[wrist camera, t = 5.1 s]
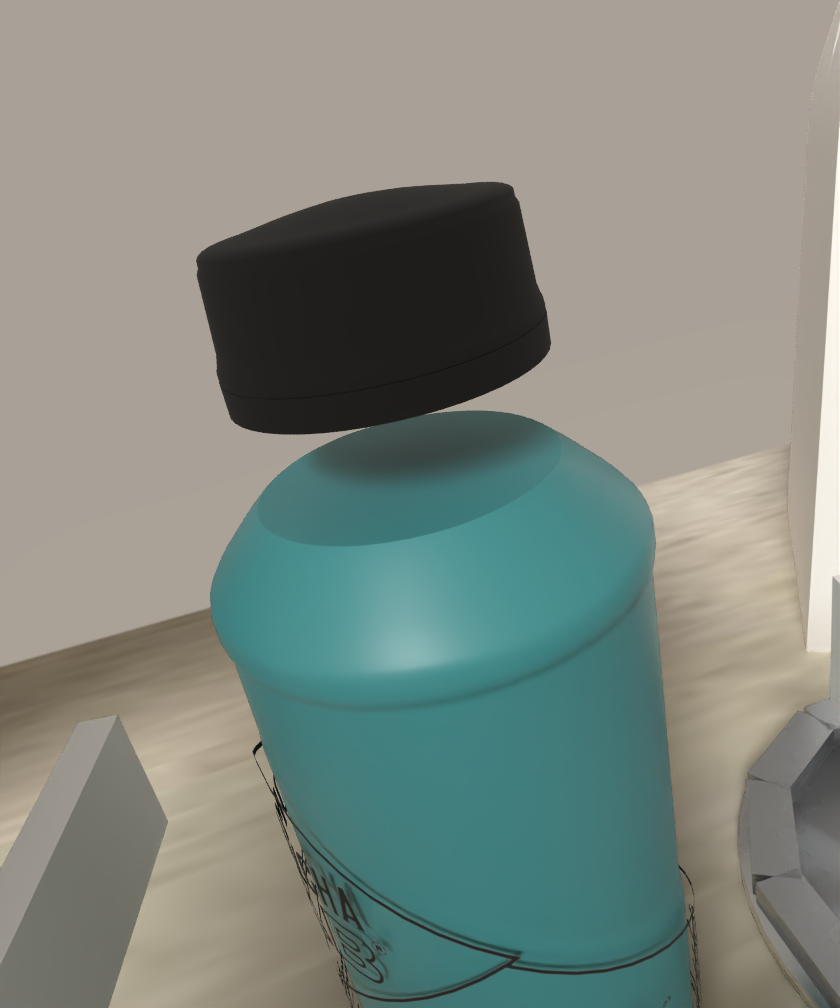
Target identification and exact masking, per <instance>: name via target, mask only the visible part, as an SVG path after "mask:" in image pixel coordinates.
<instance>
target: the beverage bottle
mask: <svg viewBox="0 0 840 1008" xmlns="http://www.w3.org/2000/svg"><path fill="white" fill-rule="evenodd" d="M196 262H197V266H198V271H197V278H198V283H199V287H200V290H201V295H202V299H203V303H204V307H205V311H206V315H207V319H208V323H209V327H210V331H211V335H212V340H213V343H214V347H215V352H216V359H217V376H218V379H219V384H220V387H221V390H222V393H223V396H224V399H225V402H226V405H227V408H228V411H229V415H230V417H231V419H232V420H233V422H234V423H235V424H237V425H239V426H241V427H243V428H246V429H249V430H252V431H257V432H262V433H271V434H317V433H329V432H338V431H347V430H352V429H360V428H366V427H370V428H366V429H363V430H360V431H357V432H354V433H351V434H348V435H345V436H343V437H341V438H338V439H336V440H334V441H332V442H330V443H327V444H325V445H323V446H321V447H319V448H317V449H315V450H313V451H311V452H310V453H308V454H306V455H304V456H303V457H301V458H300V459H298V460H297V461H295V462H294V463H292V464H291V465H290V466H288V467H287V468H286V469H285V470H283V471H282V472H281V473H280V474H279V475H278V476H277V477H276V478H275V479H274V480H273V481H272V482H271V483H270V484H269V485H268V486H267V487H266V488H265V490H264V491H263V493H262V494H261V495H260V496H259V498H258V499H257V501H256V502H255V503H254V504H253V506H252V507H251V509H250V511H249V512H248V513H247V515H246V517H245V518H244V520H243V522H242V523H241V525H240V527H239V528H238V530H237V531H236V533H235V535H234V536H233V538H232V539H231V541H230V543H229V544H228V546H227V548H226V550H225V552H224V554H223V556H222V558H221V560H220V563H219V565H218V568H217V570H216V573H215V575H214V578H213V582H212V587H211V592H210V601H211V617H212V620H213V623H214V626H215V629H216V631H217V634H218V637H219V640H220V642H221V645H222V646H223V648H224V649H225V651H226V652H227V654H228V655H229V657H230V658H231V659H232V660H233V662H234V663H235V665H236V668H237V671H238V674H239V676H240V679H241V682H242V685H243V688H244V690H245V693H246V696H247V699H248V702H249V704H250V707H251V710H252V713H253V716H254V718H255V721H256V724H257V727H258V730H259V733H260V738H261V742H260V743H258V745H256V746H255V748H254V750H253V754H254V757H255V754H256V751H257V750H258V749H259V748H260V747H261V746H262V745H263V748H264V751H265V754H266V756H267V759H268V761H269V764H270V767H271V769H272V772H273V778H274V784H275V788H276V791H277V793H278V796H279V799H280V801H281V804H282V805H281V804H280V802H279V800H278V798H277V795H276V792H275V790H274V787H273V791H272V790H271V788H270V787H269V785H268V783H267V781H266V779H265V777H264V775H263V773H262V771H261V769H260V767H259V765H258V767H259V769H260V771H261V773H262V775H263V777H264V779H265V781H266V783H267V785H268V787H269V789H270V791H271V792H272V794H273V795H274V797H275V799H276V802H277V805H276V803H275V806H276V809H277V812H278V814H279V817H280V816H281V813H282V815H283V818H284V821H285V823H286V826H287V821H286V819H285V816H284V813H283V811H284V812H285V814H286V815H287V817H288V818H289V820H290V821H291V823H292V824H293V827H294V829H295V832H296V835H297V837H298V840H299V843H300V845H301V848H302V857H301V856H300V855H299V854H298V853H297V852H296V854H297V857H298V860H299V862H300V865H301V867H302V870H303V873H304V875H305V878H306V880H307V882H306V880H305V879H304V877H303V875H302V873H301V870H300V867H299V864H298V862H297V859H296V856H295V853H294V850H293V847H292V845H291V847H292V850H293V852H291V853H292V854H293V853H294V854H293V856H295V857H293V858H294V859H295V861H296V863H297V866H298V867H297V868H299V869H298V871H299V872H300V874H301V876H302V877H301V878H303V879H304V881H305V883H306V884H307V883H308V884H309V881H308V879H307V872H308V873H309V874H310V872H311V874H312V877H313V880H314V882H315V885H314V884H313V882H312V881H311V882H312V885H313V887H314V889H313V888H312V887H311V885H310V884H309V886H310V888H311V889H312V891H313V892H314V893H315V895H316V896H317V900H318V897H319V896H318V893H319V895H320V898H321V901H322V903H323V906H324V909H325V910H324V909H323V908H322V906H321V905H320V907H321V910H322V912H323V910H324V912H325V913H326V914H327V917H328V919H329V922H330V925H331V927H332V930H333V932H334V935H335V938H336V940H337V943H338V946H339V948H340V951H341V953H340V952H339V951H338V949H337V946H336V943H335V941H334V938H333V936H332V933H331V930H330V928H329V925H328V922H327V920H326V917H325V915H324V912H323V915H324V918H325V920H326V923H327V925H328V928H329V931H330V933H331V936H332V939H333V941H334V944H335V946H336V949H337V951H338V952H339V953H340V956H341V958H342V957H343V959H344V962H345V964H346V965H345V968H346V967H347V968H346V970H348V972H349V975H350V977H351V980H352V983H353V985H354V988H355V989H354V988H352V987H351V986H350V985H348V983H347V981H348V979H347V978H348V976H347V977H346V979H347V980H346V982H345V980H344V979H342V978H341V981H342V980H343V981H342V984H343V982H344V983H345V984H346V985H347V986H348V987H349V988H351V989H352V990H353V991H354V992H356V993H357V996H358V999H359V1001H360V1004H361V1007H362V1008H693V1000H692V987H691V984H692V983H691V975H692V973H691V971H690V961H689V948H688V935H687V927H688V925H689V927H690V921H691V918H692V924H693V921H694V920H695V917H693V914H694V907H691V908H693V910H692V913H691V916H690V919H689V921H688V919H687V922H688V923H687V922H686V909H685V899H684V891H683V883H682V879H681V874H680V870H681V871H682V872H683V873H684V874H685V875H686V873H685V872H684V870H683V869H682V868H681V867H680V866H679V865H678V856H677V845H676V833H675V822H674V810H673V799H672V787H671V776H670V764H669V752H668V741H667V729H666V718H665V706H664V695H663V683H662V672H661V660H660V649H659V637H658V626H657V614H656V603H655V591H654V579H653V567H654V557H655V548H656V539H655V531H654V523H653V516H652V513H651V511H650V509H649V507H648V504H647V502H646V500H645V499H644V497H643V495H642V494H641V492H640V491H639V490H638V488H637V487H636V486H635V485H634V483H633V482H631V481H630V480H629V479H628V478H627V477H625V476H624V475H623V474H622V473H621V472H620V471H618V470H617V469H616V468H615V467H613V466H612V465H611V464H609V463H608V462H607V461H605V460H604V459H602V458H601V457H599V456H597V455H596V454H594V453H592V452H591V451H589V450H588V449H586V448H584V447H583V446H581V445H579V444H578V443H576V442H575V441H573V440H571V439H570V438H568V437H566V436H565V435H563V434H561V433H559V432H557V431H555V430H553V429H552V428H550V427H548V426H546V425H544V424H542V423H540V422H537V421H535V420H533V419H530V418H526V417H523V416H519V415H515V414H510V413H503V412H494V411H455V412H443V413H434V414H428V413H431V412H435V411H438V410H442V409H445V408H448V407H451V406H454V405H457V404H460V403H463V402H466V401H468V400H471V399H474V398H476V397H479V396H481V395H484V394H486V393H488V392H490V391H493V390H495V389H497V388H500V387H502V386H504V385H506V384H508V383H510V382H512V381H513V380H515V379H517V378H519V377H520V376H522V375H524V374H525V373H527V372H528V371H530V370H531V369H532V368H534V367H535V366H536V365H538V364H539V363H540V362H541V361H542V359H543V358H545V356H546V355H547V353H548V352H549V350H550V345H551V340H550V333H549V326H548V319H547V311H546V308H545V302H544V299H543V296H542V294H541V292H540V290H539V288H538V285H537V283H536V279H535V274H534V269H533V265H532V260H531V256H530V251H529V247H528V241H527V237H526V232H525V228H524V223H523V219H522V214H521V209H520V204H519V201H518V199H517V198H516V197H515V194H514V190H513V187H512V186H510V185H508V184H504V183H499V182H477V183H466V184H447V185H426V186H414V187H402V188H394V189H387V190H381V191H374V192H368V193H363V194H358V195H353V196H348V197H343V198H340V199H335V200H331V201H328V202H325V203H322V204H318V205H315V206H312V207H309V208H306V209H303V210H300V211H297V212H295V213H292V214H289V215H286V216H283V217H281V218H278V219H276V220H273V221H271V222H268V223H266V224H263V225H261V226H259V227H256V228H254V229H251V230H249V231H246V232H244V233H241V234H239V235H236V236H233V237H230V238H228V239H225V240H223V241H220V242H218V243H216V244H214V245H211V246H209V247H208V248H206V249H205V250H204V251H202V252H201V253H200V254H199V255H198V257H197V260H196ZM424 414H428V415H424ZM372 426H373V427H372ZM255 760H256V759H255ZM256 762H257V761H256ZM257 764H258V763H257ZM275 780H276V782H277V785H278V787H279V790H280V793H281V795H282V798H283V800H284V803H285V807H284V805H283V802H282V799H281V797H280V794H279V791H278V789H277V786H276V783H275ZM273 792H274V793H273ZM277 806H278V807H277ZM279 808H280V809H279ZM282 809H283V811H282ZM280 810H281V813H280ZM287 811H288V814H289V816H290V817H289V816H288V814H287ZM277 816H278V815H277ZM279 817H278V819H279ZM281 818H282V816H281V817H280V820H281ZM280 820H279V821H280ZM282 820H283V819H282ZM282 820H281V822H282ZM281 822H280V823H281ZM282 825H283V822H282ZM282 825H281V827H282ZM283 827H284V825H283ZM282 829H283V828H282ZM284 830H285V827H284ZM284 830H283V832H284ZM285 833H286V830H285ZM285 833H284V835H285ZM286 835H287V833H286ZM286 835H285V837H286ZM287 838H288V835H287ZM287 838H286V840H287ZM288 840H289V838H288ZM288 840H287V842H288ZM288 844H289V842H288ZM290 844H291V843H290ZM291 847H290V845H289V848H290V849H291ZM292 850H291V851H292ZM303 853H304V856H305V861H304V860H303ZM300 859H301V860H302V863H301V860H300ZM306 861H307V864H308V866H309V869H310V871H309V869H308V867H307V865H306ZM303 862H304V864H305V866H306V873H305V871H304V868H303ZM679 868H680V870H679ZM311 874H310V875H311ZM686 877H687V879H688V881H689V883H690V884H691V882H690V880H689V878H688V876H687V875H686ZM310 880H311V879H310ZM303 884H304V882H303ZM308 884H307V886H308ZM304 885H305V884H304ZM691 886H692V885H691ZM305 887H306V886H305ZM316 887H317V890H318V893H317V890H316ZM692 890H693V889H692ZM308 891H309V889H308ZM308 891H306V892H307V894H308V897H309V899H310V894H309V893H308ZM693 895H694V893H693ZM310 900H311V899H310ZM311 901H312V900H311ZM311 901H310V902H311ZM312 903H313V902H312ZM312 903H311V904H312ZM313 905H314V904H313ZM691 905H692V904H691ZM318 906H319V902H318ZM691 908H690V905H689V909H690V911H691ZM313 910H314V909H313ZM315 910H316V909H315ZM314 912H315V911H314ZM316 912H317V911H316ZM319 913H320V908H319ZM315 914H316V913H315ZM317 914H318V913H317ZM316 916H317V915H316ZM317 918H318V917H317ZM320 918H321V914H320ZM320 918H319V919H320ZM319 919H318V920H319ZM320 921H322V920H320ZM321 923H322V922H321ZM320 925H321V924H320ZM322 925H323V924H322ZM695 926H696V923H695ZM321 927H322V926H321ZM322 929H325V928H324V926H323V928H322ZM690 929H691V927H690ZM694 929H695V931H696V928H694V925H693V933H692V934H693V935H692V937H693V940H694V936H695V935H696V934H695V933H694ZM323 931H324V930H323ZM325 931H326V930H325ZM325 931H324V933H325ZM691 931H692V930H691ZM326 933H327V932H326ZM327 935H328V934H327ZM327 935H326V934H325V936H327ZM696 936H697V935H696ZM328 937H329V936H328ZM328 937H327V938H328ZM327 938H326V940H327ZM328 939H329V941H330V942H331V943H332V941H331V939H330V938H328ZM695 939H696V937H695ZM696 941H697V940H696ZM327 943H328V942H327ZM697 943H698V941H697ZM332 945H333V943H332ZM333 946H334V945H333ZM696 946H697V944H696V943H695V940H694V949H693V951H694V952H696V951H697V950H696V951H695V947H696ZM328 947H329V946H328ZM692 948H693V946H692ZM697 953H698V951H697ZM696 955H697V954H696ZM696 955H695V953H694V956H695V966H694V967H696V961H697V959H696ZM697 958H698V955H697ZM333 961H334V960H333ZM342 961H343V960H341V963H342V964H343V962H342ZM693 961H694V960H693ZM698 962H699V961H698ZM337 963H338V962H337ZM693 964H694V963H693ZM698 964H699V963H698ZM338 966H339V965H338ZM341 967H342V970H344V969H343V965H342V966H341ZM339 968H340V967H339ZM696 968H697V967H696ZM336 969H337V968H336ZM342 970H341V971H340V970H339V972H342ZM346 970H345V971H346ZM695 970H696V969H695ZM690 973H691V974H690ZM698 973H699V978H698V979H699V980H700V971H699V972H698ZM338 974H339V973H338ZM340 974H341V973H340ZM342 974H344V972H342ZM346 974H347V972H346ZM697 975H698V974H697V970H696V982H697V977H698V976H697ZM339 976H340V977H341V976H342V975H339ZM343 977H344V975H343ZM692 978H693V976H692ZM693 980H694V978H693ZM699 980H698V981H699ZM694 982H695V980H694ZM699 984H700V983H699ZM692 986H693V984H692ZM695 986H696V984H695ZM700 986H701V984H700ZM348 987H347V988H348ZM693 987H694V986H693ZM345 988H346V986H345ZM699 988H700V987H699ZM693 989H694V991H695V988H693ZM348 990H349V989H348ZM696 990H697V995H696V997H697V996H698V997H699V995H698V984H697V988H696ZM346 991H347V989H346ZM346 991H345V992H346ZM348 993H349V992H348ZM700 993H701V992H700ZM346 994H347V992H346ZM349 995H350V993H349ZM700 995H701V994H700ZM347 996H348V995H347ZM352 996H353V993H352ZM348 998H349V997H348ZM350 999H351V998H350ZM348 1000H349V999H348ZM701 1000H702V999H701ZM350 1001H351V1000H350ZM697 1001H698V1005H697V1008H699V1007H700V1006H699V1001H700V999H697ZM697 1001H696V1004H697ZM350 1004H352V1003H350ZM353 1004H354V1003H353ZM700 1005H701V1004H700ZM351 1007H353V1006H351ZM358 1008H359V1005H358Z"/></svg>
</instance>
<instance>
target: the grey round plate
mask: <svg viewBox="0 0 840 1008" xmlns="http://www.w3.org/2000/svg"><path fill="white" fill-rule="evenodd" d="M738 850H739V860H740V868H741V875H742V882H743V886H744V889H745V892H746V896H747V899H748V903H749V906H750V909H751V912H752V915H753V917H754V919H755V921H756V924H757V926H758V928H759V930H760V932H761V935H762V937H763V939H764V941H765V943H766V945H767V947H768V948H769V950H770V952H771V953H772V955H773V957H774V958H775V960H776V962H777V963H778V965H779V967H780V968H781V970H782V972H783V973H784V975H785V976H786V978H787V979H788V980H789V982H790V983H791V984H792V986H793V987H794V988H795V989H796V991H797V992H798V993H799V995H800V996H801V997H802V999H803V1000H804V1001H805V1003H806V1004H807V1005H808V1006H809V1008H840V711H839V709H838V708H837V707H836V705H835V704H834V703H833V702H832V700H831V699H827V700H824V701H821V702H818V703H815V704H812V705H809V706H806V707H804V713H802V712H799V711H798V712H797V713H796V714H795V715H794V717H793V718H792V719H791V720H790V722H789V723H788V724H787V725H786V727H785V728H784V729H783V730H782V731H781V733H780V734H779V735H778V736H777V738H776V739H775V740H774V741H773V743H772V744H771V745H770V746H769V748H768V749H767V750H766V751H765V752H764V754H763V755H762V756H761V757H760V759H759V760H758V761H757V762H756V764H755V765H754V766H753V767H752V769H751V770H750V771H749V772H748V780H746V791H745V793H744V797H743V801H742V806H741V811H740V815H739V832H738Z"/></svg>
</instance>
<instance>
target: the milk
mask: <svg viewBox="0 0 840 1008" xmlns="http://www.w3.org/2000/svg"><path fill="white" fill-rule="evenodd" d="M805 163H806V165H805V183H804V200H803V220H802V238H801V257H800V258H801V259H800V278H799V296H798V315H797V334H796V353H795V372H794V391H793V411H792V430H791V448H790V467H789V486H788V505H787V511H788V519H789V526H790V534H791V541H792V549H793V556H794V563H795V571H796V578H797V586H798V593H799V601H800V608H801V616H802V623H803V631H804V638H805V645H806V651H807V652H831V619H832V576H835V575H840V0H839V3H838V6H837V9H836V12H835V15H834V18H833V21H832V25H831V28H830V31H829V34H828V37H827V40H826V43H825V47H824V49H823V52H822V55H821V59H820V62H819V66H818V69H817V73H816V76H815V81H814V85H813V90H812V94H811V101H810V107H809V116H808V128H807V144H806V162H805Z"/></svg>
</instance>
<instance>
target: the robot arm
mask: <svg viewBox="0 0 840 1008" xmlns="http://www.w3.org/2000/svg"><path fill="white" fill-rule="evenodd" d="M830 699H831V700H832V702H833V703H834V704H835V705H836V707H837V708H838V709H839V711H840V575H835V576H832V619H831V667H830ZM167 823H168V820H167V818H166V816H165V814H164V812H163V810H162V808H161V805H160V803H159V801H158V799H157V797H156V795H155V793H154V791H153V789H152V786H151V784H150V782H149V780H148V778H147V776H146V774H145V772H144V769H143V767H142V765H141V763H140V761H139V759H138V757H137V755H136V753H135V750H134V748H133V746H132V744H131V742H130V740H129V738H128V736H127V733H126V731H125V729H124V727H123V725H122V723H121V721H120V719H119V717H118V715H114V716H109V717H103V718H98V719H93V720H88V721H83V722H78V723H77V725H76V727H75V729H74V731H73V733H72V735H71V737H70V738H69V740H68V742H67V744H66V746H65V748H64V750H63V752H62V754H61V755H60V757H59V759H58V761H57V763H56V765H55V767H54V769H53V771H52V772H51V774H50V776H49V778H48V780H47V782H46V784H45V786H44V788H43V789H42V791H41V793H40V795H39V797H38V799H37V801H36V803H35V805H34V806H33V808H32V810H31V812H30V814H29V816H28V818H27V820H26V822H25V823H24V825H23V827H22V829H21V831H20V833H19V835H18V837H17V839H16V840H15V842H14V844H13V846H12V848H11V850H10V852H9V854H8V855H7V857H6V859H5V861H4V863H3V865H2V867H1V869H0V1008H108V1007H109V1004H110V1001H111V998H112V995H113V991H114V988H115V985H116V982H117V979H118V976H119V973H120V970H121V967H122V963H123V960H124V957H125V954H126V951H127V948H128V945H129V942H130V938H131V935H132V932H133V929H134V926H135V923H136V920H137V917H138V914H139V910H140V907H141V904H142V901H143V898H144V895H145V892H146V889H147V886H148V882H149V879H150V876H151V873H152V870H153V867H154V864H155V861H156V857H157V854H158V851H159V848H160V845H161V842H162V839H163V836H164V833H165V829H166V826H167Z"/></svg>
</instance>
